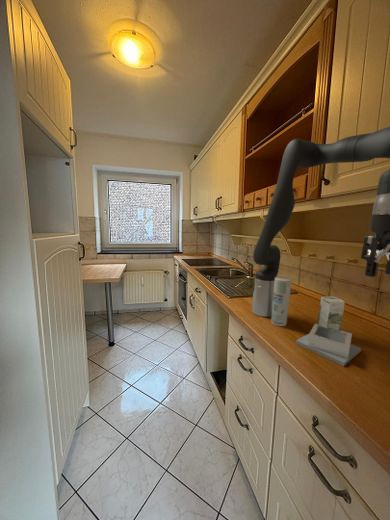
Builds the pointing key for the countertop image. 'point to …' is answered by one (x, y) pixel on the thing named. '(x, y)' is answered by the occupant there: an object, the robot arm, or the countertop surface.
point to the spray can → (281, 301)
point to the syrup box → (331, 312)
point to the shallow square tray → (330, 340)
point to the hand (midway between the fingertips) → (380, 275)
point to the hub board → (337, 359)
